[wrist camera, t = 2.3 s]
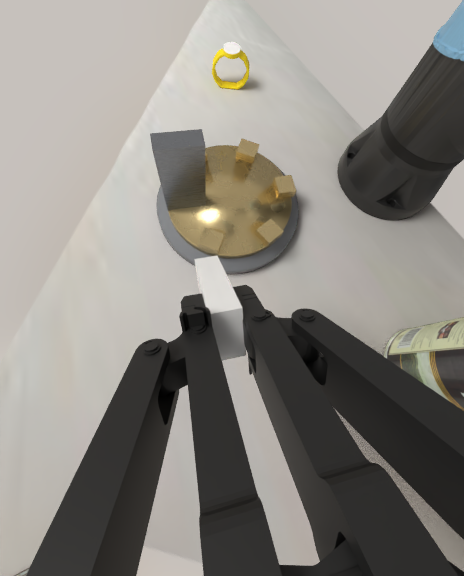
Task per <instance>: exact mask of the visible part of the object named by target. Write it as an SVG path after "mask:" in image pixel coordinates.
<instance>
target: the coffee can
mask: <svg viewBox="0 0 464 576" xmlns="http://www.w3.org/2000/svg"><path fill="white" fill-rule="evenodd" d="M384 357H385V358H387V359H388V360H389V361H391V362H392V363H394V364H395V365H397V366H398V367H400V368H401V369H403V370H404V371H406V372H407V373H409V374H410V375H412V376H413V377H414V378H416V379H417V380H419V381H420V382H422V383H423V384H425V385H426V386H428V387H429V388H431V389H432V390H434V391H435V392H437V393H438V394H439V395H441V396H442V397H444V398H445V399H447V400H448V401H450V402H451V403H453V404H454V405H456V406H457V407H459V408H460V409H462V410H463V411H464V317H462V318H458V319H453V320H449V321H443V322H438V323H434V324H429V325H424V326H420V327H415V328H407V329H404V330H401V331H399V332H397V333H396V334H395V335H394V336H392V338H391V339H390V340H389V342H388V343H387V345H386V348H385V352H384Z"/></svg>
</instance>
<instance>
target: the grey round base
mask: <svg viewBox="0 0 464 576" xmlns="http://www.w3.org/2000/svg"><path fill="white" fill-rule="evenodd" d="M276 167H277V166H276ZM277 168H278V167H277ZM278 169H279V168H278ZM279 170H280V169H279ZM280 171H281V170H280ZM281 173H282V174H283V172H282V171H281ZM283 175H284V174H283ZM284 176H285V175H284ZM157 214H158V219H159V223H160V226H161V228H162V231H163V234H164V236H165V238H166V239H167V241H168V243H169V244H170V245H171V247H172V248H173V249H174V250H175V251H176V252H177V253H178V254H179V255H180V256H181V257H182V258H184V259H185V260H186V261H188V262H189V263H191V264H193V265H195V260H194V259H198V258H205V257H211V255H208V254H205V253H203V252H200V251H199V250H197V249H195V248H193V247H192V246H191V245H189V244H188V243H187V242H186V241H185V240H184V239H183V238H182V237H181V236H180V235H179V234H178V232H177V231H176V229H175V228H174V226H173V224H172V222H171V219H170V216H169V212H168V210H167V206H166V202H165V198H164V194H163V190H162V186H160V188H159V192H158V196H157ZM297 221H298V202H297V198H296V194H295V195H294V197H292V209H291V214H290V217H289V220H288V223H287V225H286V226H285V228H284V230H283V231H284V232H283V234H282V236H281V237H279V238H278V239H277V240H276V241H275V242H274V243H273V244H272V245H271V246H269V247H268V248H267V249H265V250H263V251H261V252H259V253H258V254H255V255H252V256H249V257H244V258H236V259H226V258H219V257H218V258H219V260H220V262H221V264H222V266H223V268H224V270H225V272H226V274H240V273H246V272H250V271H254V270H256V269H259V268H261V267H263V266H265V265H267V264H269V263H270V262H271V261H273V260H274V259H275V258H277V257H278V256H279V255H280V254H281V253H282V251H283V250H284V249H285V248H286V246H287V245H288V243H289V241H290V240H291V238H292V236H293V234H294V232H295V229H296V226H297Z"/></svg>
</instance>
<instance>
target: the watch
mask: <svg viewBox="0 0 464 576" xmlns="http://www.w3.org/2000/svg"><path fill="white" fill-rule="evenodd" d="M223 56H225V57H227V58H229V59H235V58H238V57H239V58H240V59H242V60H243V61H244V63H245V66H246V68H247V70H246V73H245V75H244V77H243V79H241V80H240V81H238V82H237V83H235V82H227V81H222V80H221V79H220V78H219V77H218V76H217V73H216V70H215V65H216V63H217V62H218V60H219V59H220V58H221V57H223ZM212 74H213V77H214V80H215V82H216V83H217V84H218V85H219V86H220V87H221V88H229V89H237V90H238V89H239V88H241V87H242V86H244V85H245V83H246V81H247V80H248V77H249V61H248V59H247V56H246V55H245V53H244V52H243V51H241V47H240V45H239V44H237V43H235V42H227V43H225V44H224V46H223V49H221V50H219V51H218V52H217V54H216V55H215V57H214V59H213V68H212Z"/></svg>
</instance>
